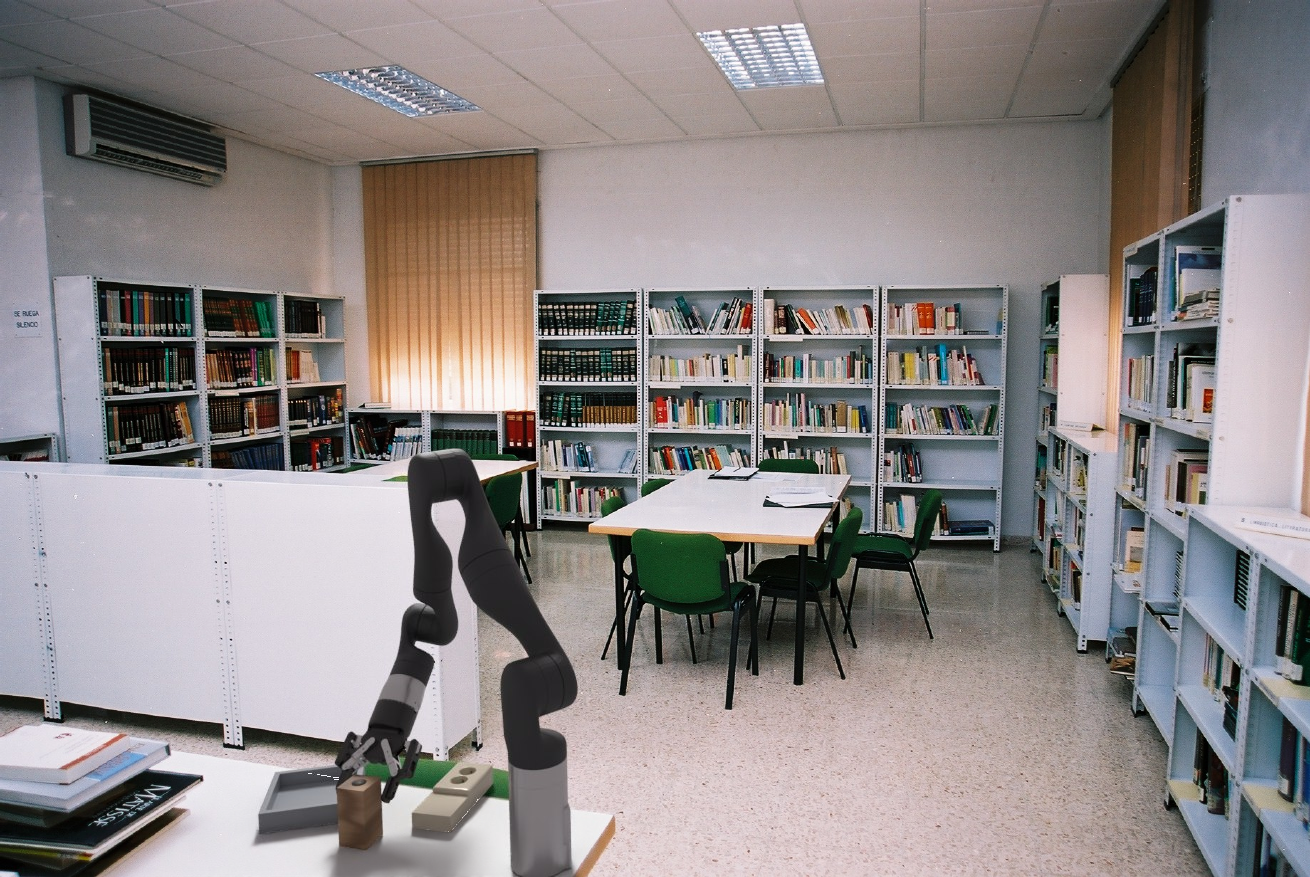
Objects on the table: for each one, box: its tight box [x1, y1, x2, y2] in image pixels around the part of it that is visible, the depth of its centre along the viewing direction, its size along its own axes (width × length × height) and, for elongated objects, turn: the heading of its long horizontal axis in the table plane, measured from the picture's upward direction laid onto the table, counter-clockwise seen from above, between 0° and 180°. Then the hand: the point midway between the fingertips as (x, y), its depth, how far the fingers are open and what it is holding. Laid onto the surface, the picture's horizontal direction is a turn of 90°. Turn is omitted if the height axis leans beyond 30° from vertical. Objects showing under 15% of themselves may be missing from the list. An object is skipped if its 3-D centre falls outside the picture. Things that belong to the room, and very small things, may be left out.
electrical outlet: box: [411, 761, 494, 833], centre depth 152 cm, size 7×4×18 cm
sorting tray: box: [257, 764, 366, 835], centre depth 153 cm, size 16×16×4 cm
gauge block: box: [337, 774, 384, 851], centre depth 140 cm, size 5×5×10 cm
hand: (362, 798), depth 141 cm, fingers open, 8 cm apart
